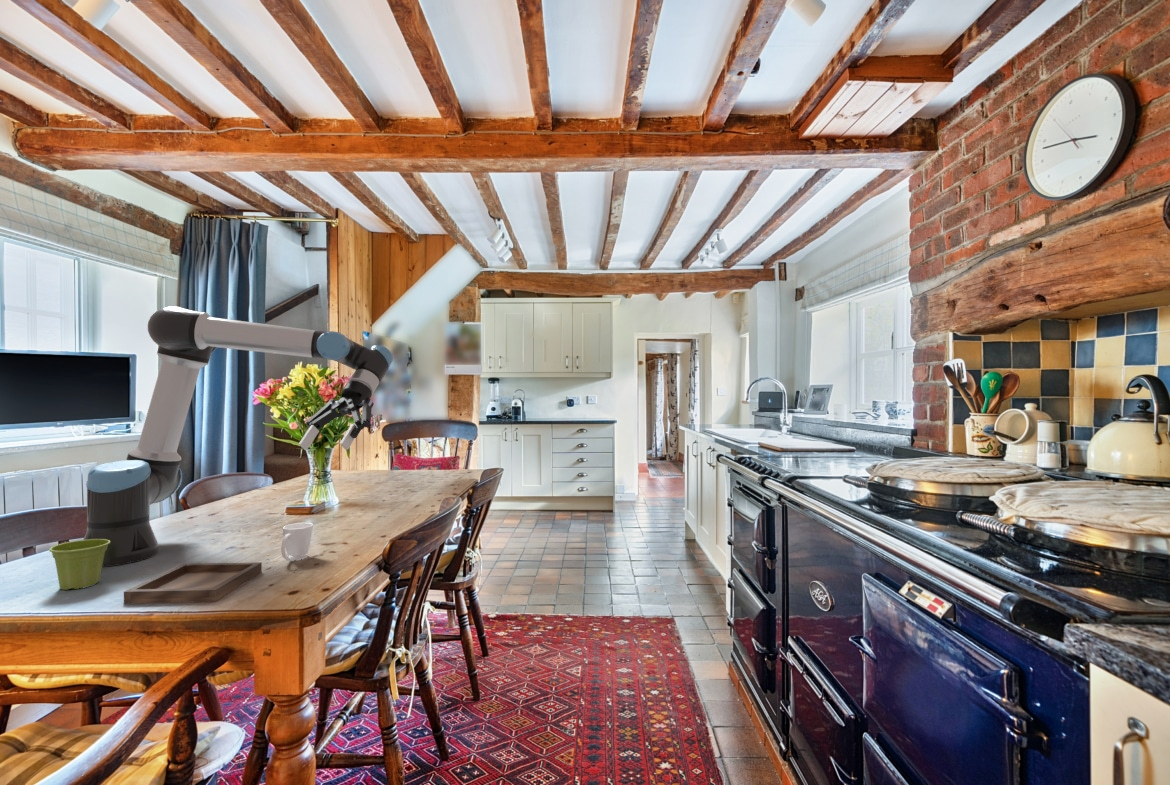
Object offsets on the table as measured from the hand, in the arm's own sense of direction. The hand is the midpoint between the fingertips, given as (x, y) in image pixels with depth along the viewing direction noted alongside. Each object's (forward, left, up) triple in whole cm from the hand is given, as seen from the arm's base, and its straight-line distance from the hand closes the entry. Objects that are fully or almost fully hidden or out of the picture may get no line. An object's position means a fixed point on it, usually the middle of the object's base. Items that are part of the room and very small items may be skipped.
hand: (322, 446), depth 140 cm
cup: (-6, -7, -27) cm, 29 cm away
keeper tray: (-24, -18, -27) cm, 40 cm away
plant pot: (-46, -5, -27) cm, 54 cm away
